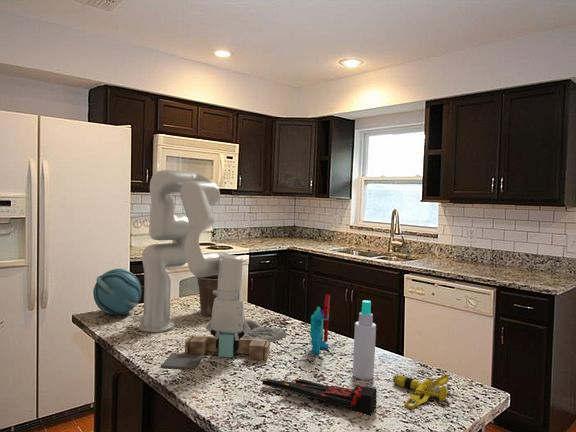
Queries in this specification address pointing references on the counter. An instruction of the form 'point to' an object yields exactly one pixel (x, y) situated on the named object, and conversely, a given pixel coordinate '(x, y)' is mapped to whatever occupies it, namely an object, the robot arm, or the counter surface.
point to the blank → (226, 344)
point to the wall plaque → (263, 332)
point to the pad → (182, 361)
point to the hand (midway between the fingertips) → (227, 350)
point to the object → (207, 293)
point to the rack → (248, 346)
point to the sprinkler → (422, 389)
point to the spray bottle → (364, 344)
